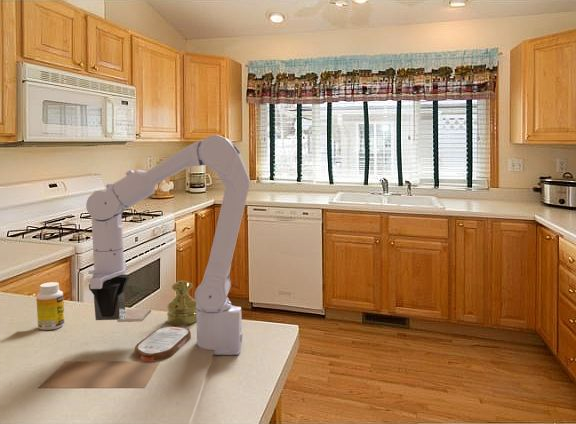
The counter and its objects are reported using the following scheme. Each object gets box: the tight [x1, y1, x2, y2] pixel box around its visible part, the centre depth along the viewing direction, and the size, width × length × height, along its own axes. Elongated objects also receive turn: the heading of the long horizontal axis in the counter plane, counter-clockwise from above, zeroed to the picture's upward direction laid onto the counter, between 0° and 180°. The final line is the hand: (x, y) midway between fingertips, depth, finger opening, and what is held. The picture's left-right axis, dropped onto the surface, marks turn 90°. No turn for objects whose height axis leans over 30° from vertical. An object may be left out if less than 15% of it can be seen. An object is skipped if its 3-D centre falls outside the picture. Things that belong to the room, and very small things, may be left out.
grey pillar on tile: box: [93, 291, 152, 323], centre depth 95 cm, size 10×6×5 cm, turn 90°
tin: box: [134, 325, 192, 361], centre depth 94 cm, size 15×3×8 cm
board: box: [37, 360, 161, 389], centre depth 82 cm, size 18×10×1 cm, turn 91°
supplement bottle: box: [35, 281, 65, 331], centre depth 107 cm, size 6×6×10 cm
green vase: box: [166, 279, 197, 326], centre depth 111 cm, size 7×7×10 cm
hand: (111, 312), depth 95 cm, fingers closed on grey pillar on tile, 3 cm apart
